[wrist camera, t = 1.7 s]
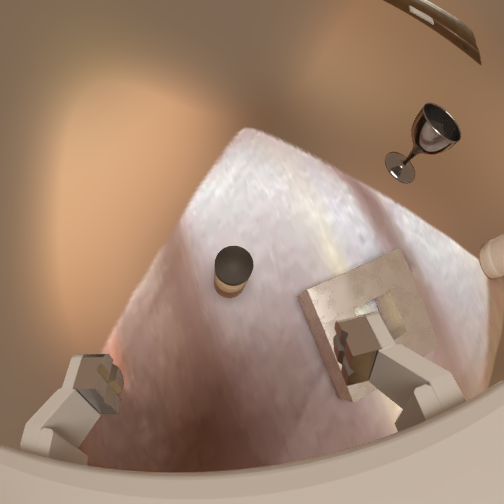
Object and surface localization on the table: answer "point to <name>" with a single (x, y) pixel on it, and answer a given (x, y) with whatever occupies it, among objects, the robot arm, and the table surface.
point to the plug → (232, 270)
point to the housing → (358, 293)
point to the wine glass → (425, 140)
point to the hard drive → (421, 14)
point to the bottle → (493, 257)
